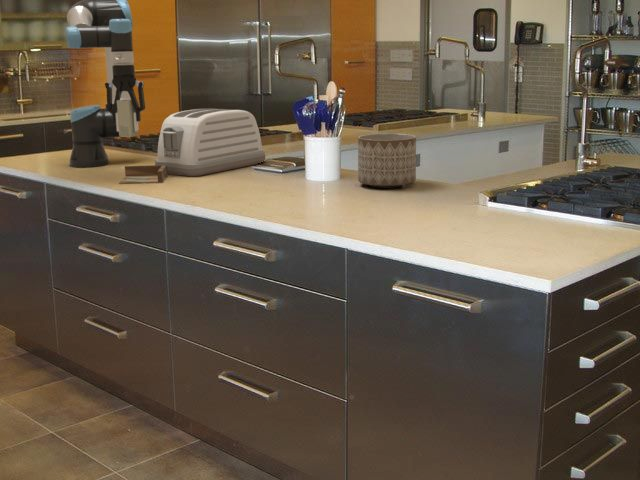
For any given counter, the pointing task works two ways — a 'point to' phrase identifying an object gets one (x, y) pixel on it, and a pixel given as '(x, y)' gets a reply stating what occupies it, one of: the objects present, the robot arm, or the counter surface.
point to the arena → (144, 174)
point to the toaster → (209, 142)
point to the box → (126, 118)
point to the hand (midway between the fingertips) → (127, 130)
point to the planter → (387, 159)
